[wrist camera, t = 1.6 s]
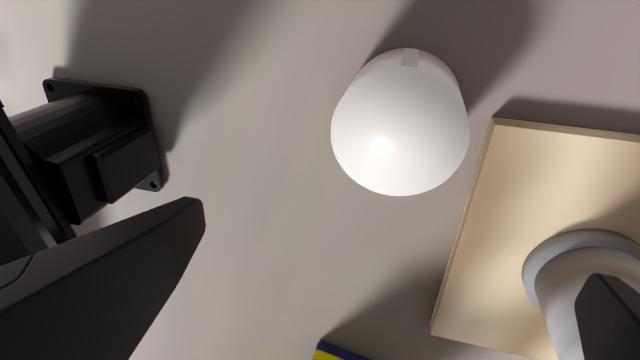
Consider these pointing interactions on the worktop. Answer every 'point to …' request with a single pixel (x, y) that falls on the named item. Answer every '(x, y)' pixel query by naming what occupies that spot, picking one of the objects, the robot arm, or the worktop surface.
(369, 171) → the cap
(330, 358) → the supplement box
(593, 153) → the beige square board
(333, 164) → the worktop surface
